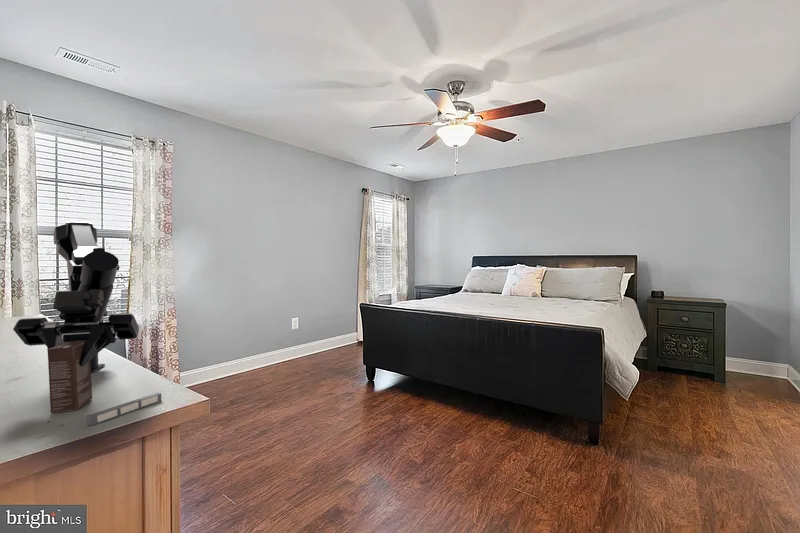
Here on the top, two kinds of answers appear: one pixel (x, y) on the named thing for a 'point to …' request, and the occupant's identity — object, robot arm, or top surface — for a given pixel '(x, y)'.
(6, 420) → the top surface
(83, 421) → the top surface
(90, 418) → the rail
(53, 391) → the box
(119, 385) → the top surface
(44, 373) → the top surface
